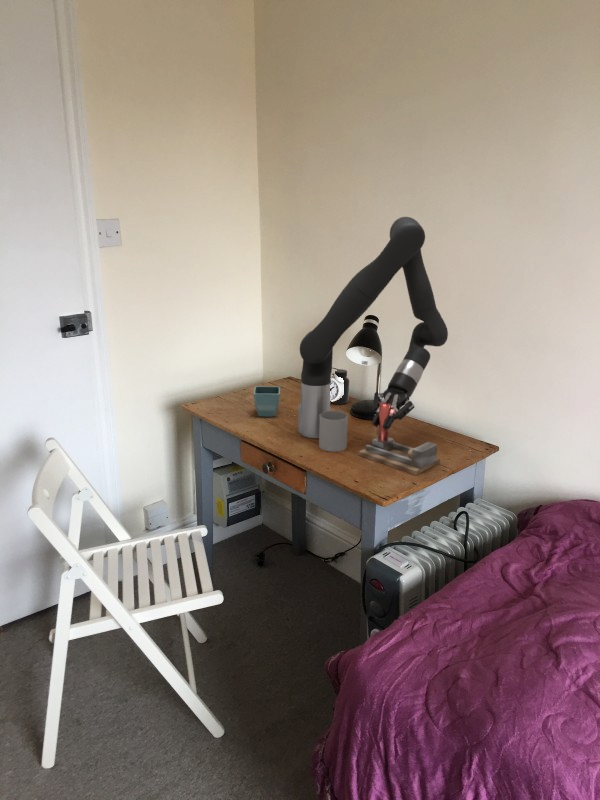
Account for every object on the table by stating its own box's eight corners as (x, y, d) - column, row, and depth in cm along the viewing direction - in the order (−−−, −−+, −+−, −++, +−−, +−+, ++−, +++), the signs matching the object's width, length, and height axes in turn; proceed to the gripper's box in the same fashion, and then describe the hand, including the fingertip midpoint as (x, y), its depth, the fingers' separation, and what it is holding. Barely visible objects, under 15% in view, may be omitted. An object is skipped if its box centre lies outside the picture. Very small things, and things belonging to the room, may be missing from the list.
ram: (371, 449, 192) (374, 404, 188) (382, 444, 196) (384, 400, 191) (382, 452, 190) (385, 407, 185) (392, 448, 193) (395, 403, 189)
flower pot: (279, 410, 229) (279, 386, 227) (279, 418, 221) (279, 393, 218) (255, 410, 229) (254, 386, 226) (254, 418, 221) (253, 393, 218)
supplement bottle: (336, 406, 234) (337, 374, 230) (326, 401, 240) (326, 369, 236) (352, 403, 238) (353, 371, 234) (341, 398, 243) (342, 367, 239)
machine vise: (358, 455, 192) (359, 435, 190) (383, 444, 200) (384, 425, 198) (415, 475, 179) (417, 454, 177) (439, 462, 187) (441, 442, 185)
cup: (330, 439, 204) (331, 409, 201) (351, 445, 199) (353, 414, 196) (313, 446, 198) (314, 416, 194) (335, 453, 193) (336, 422, 190)
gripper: (382, 367, 195) (355, 414, 191) (421, 376, 186) (394, 426, 182) (391, 380, 201) (365, 427, 196) (430, 390, 192) (404, 439, 187)
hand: (379, 426), depth 189 cm, fingers closed on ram, 3 cm apart
